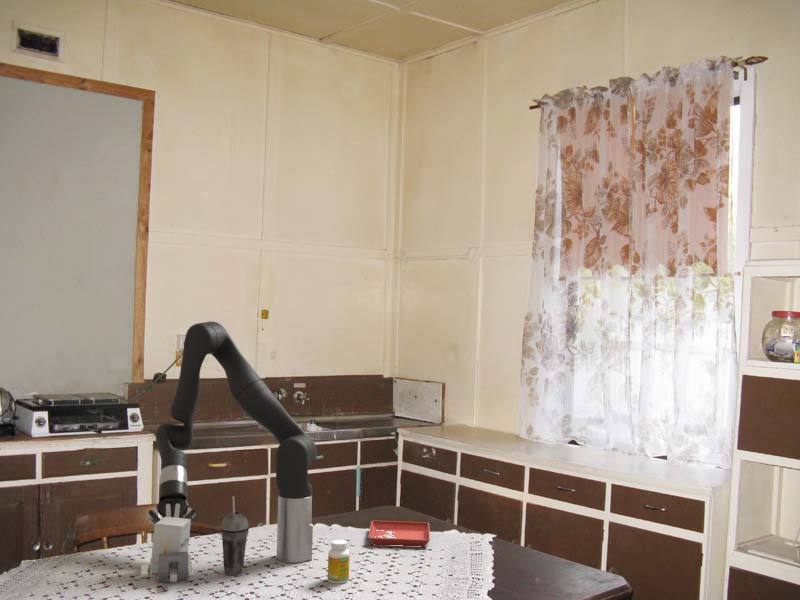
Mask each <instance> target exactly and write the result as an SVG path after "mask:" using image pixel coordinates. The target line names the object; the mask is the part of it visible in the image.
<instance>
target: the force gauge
mask: <svg viewBox="0 0 800 600" xmlns="http://www.w3.org/2000/svg"><path fill="white" fill-rule="evenodd" d="M172 561H178V567H177V581H176V583H185V582H187V581H188V578H191V576H193V577H194V572H193V564H192V557H191V554H189V551H188V552H175V553H160V554H159V563H158V574H157V573H151V580H152V579H153V580H157V584H158V583H161V584H168V583H169V575H168V573H169V562H172ZM148 573H149V564H142V565H141V567H140V581H148V576H149V575H148Z"/></svg>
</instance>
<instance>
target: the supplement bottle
mask: <svg viewBox="0 0 800 600" xmlns="http://www.w3.org/2000/svg"><path fill="white" fill-rule="evenodd" d="M330 545H331V546H330V547H331V549H330V550H329V551H328V553H327V554H328V555H327V557H328V559H327V563H328V564H327V581H328V583H332V584H338V585H340V584H345V583H347V582H349V579H350V555H351V554H350V551H349V549H347V548H348V541H347V540H344V539H334V540H332V541H331V543H330Z"/></svg>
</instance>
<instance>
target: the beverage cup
mask: <svg viewBox="0 0 800 600" xmlns="http://www.w3.org/2000/svg"><path fill="white" fill-rule="evenodd" d="M235 505H236V504H235V496H234V495H233V496H232V512H230V513H228V514H227V515H226V516H224V518H223V520H222V522H221V526H220V534H221V540H222V541H221V542H222V559H223V562H222V563H223V571H224V576H226V577H231V576H233V577H238V576H242V575H243V570H244V563H245V555H246V549H247V548H246V546H247V545H246V544H247V537H248V534H249V530H250V526H249V521H248V518H247V517H246V515H244V514H243V513H241V512H239V511H236V507H235Z"/></svg>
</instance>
